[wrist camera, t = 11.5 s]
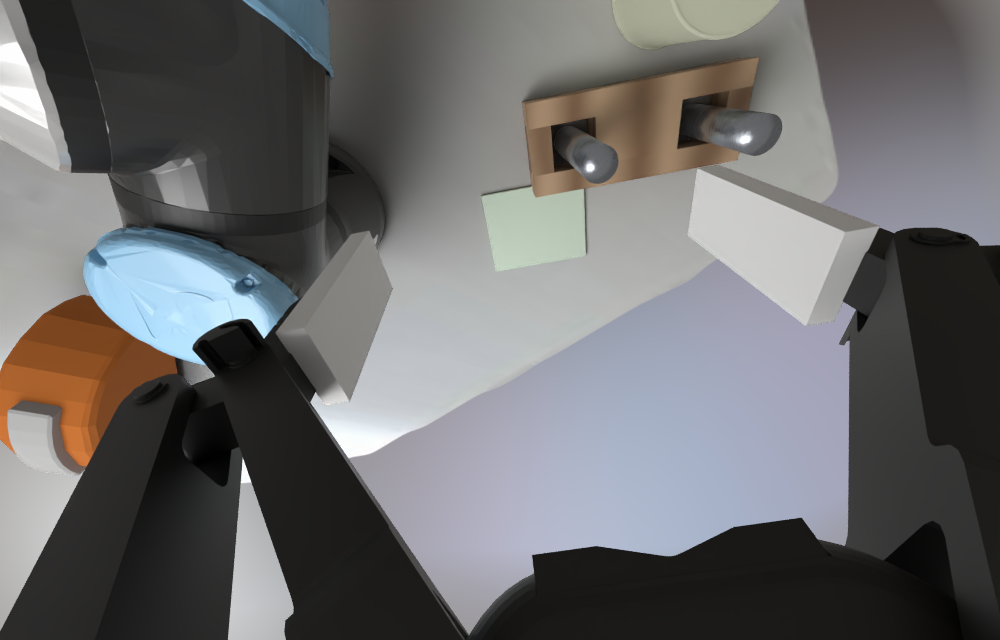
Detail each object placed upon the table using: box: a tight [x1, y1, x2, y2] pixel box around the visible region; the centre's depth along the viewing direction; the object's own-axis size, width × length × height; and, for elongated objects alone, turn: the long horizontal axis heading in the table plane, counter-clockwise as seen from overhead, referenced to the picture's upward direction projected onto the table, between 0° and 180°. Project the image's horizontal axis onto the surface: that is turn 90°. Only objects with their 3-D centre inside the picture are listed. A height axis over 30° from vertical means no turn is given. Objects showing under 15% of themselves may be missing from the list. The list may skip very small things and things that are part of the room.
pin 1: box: [554, 126, 619, 184], centre depth 34 cm, size 3×3×12 cm
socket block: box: [522, 57, 759, 198], centre depth 37 cm, size 22×9×3 cm, turn 100°
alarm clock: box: [0, 295, 178, 476], centre depth 45 cm, size 23×9×17 cm, turn 159°
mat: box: [481, 186, 586, 272], centre depth 44 cm, size 12×10×1 cm
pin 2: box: [679, 103, 782, 156], centre depth 33 cm, size 3×3×12 cm
